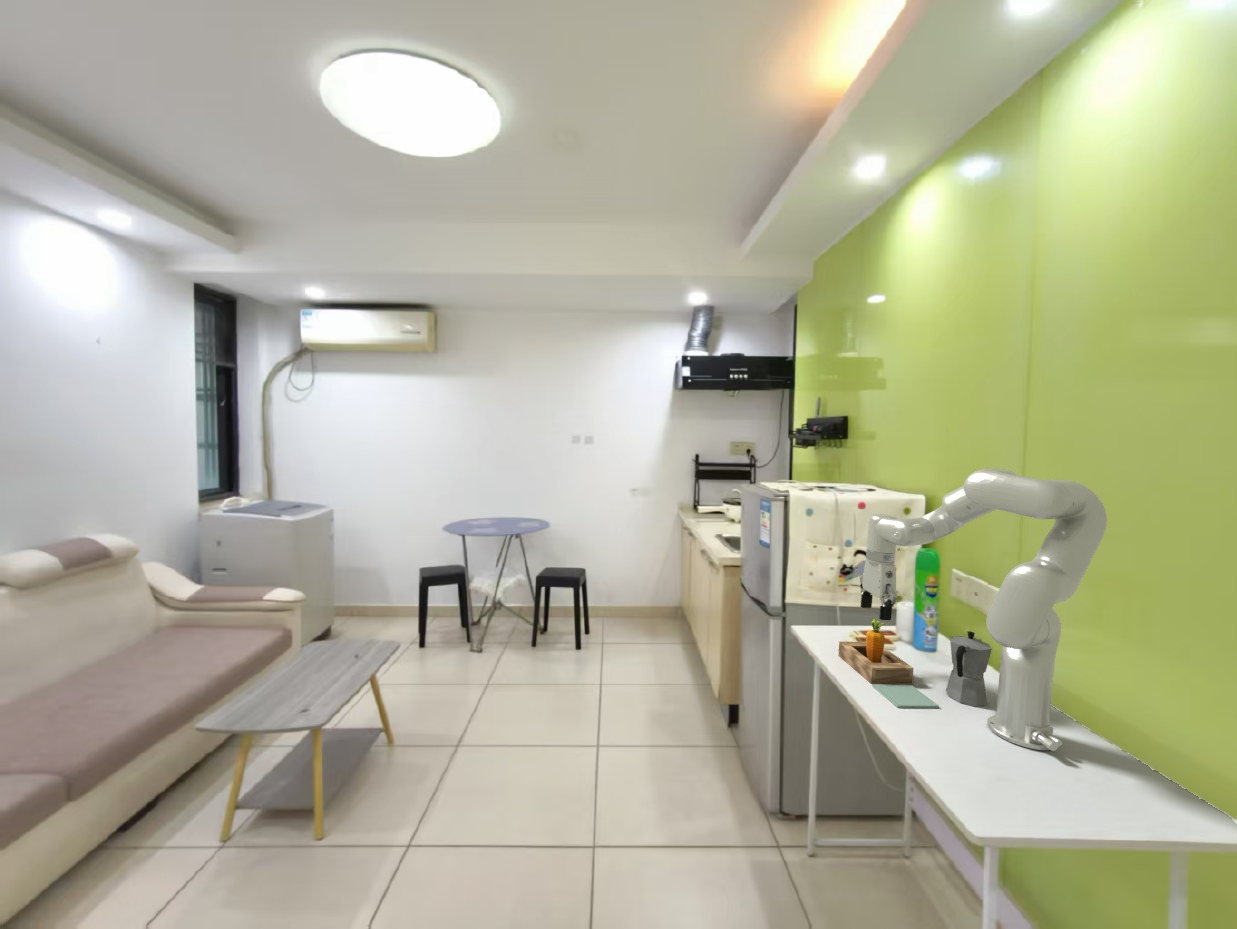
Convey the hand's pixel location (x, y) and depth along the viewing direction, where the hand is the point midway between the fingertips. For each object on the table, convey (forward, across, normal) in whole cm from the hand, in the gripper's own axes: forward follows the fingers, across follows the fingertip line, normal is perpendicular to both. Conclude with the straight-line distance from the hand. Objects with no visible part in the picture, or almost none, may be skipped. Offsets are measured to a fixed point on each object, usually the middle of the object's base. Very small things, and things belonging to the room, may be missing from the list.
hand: (875, 613), depth 148 cm
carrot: (+17, -1, 0) cm, 17 cm away
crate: (+17, -1, 0) cm, 17 cm away
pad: (+16, -17, +1) cm, 23 cm away
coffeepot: (+16, -18, -15) cm, 29 cm away
